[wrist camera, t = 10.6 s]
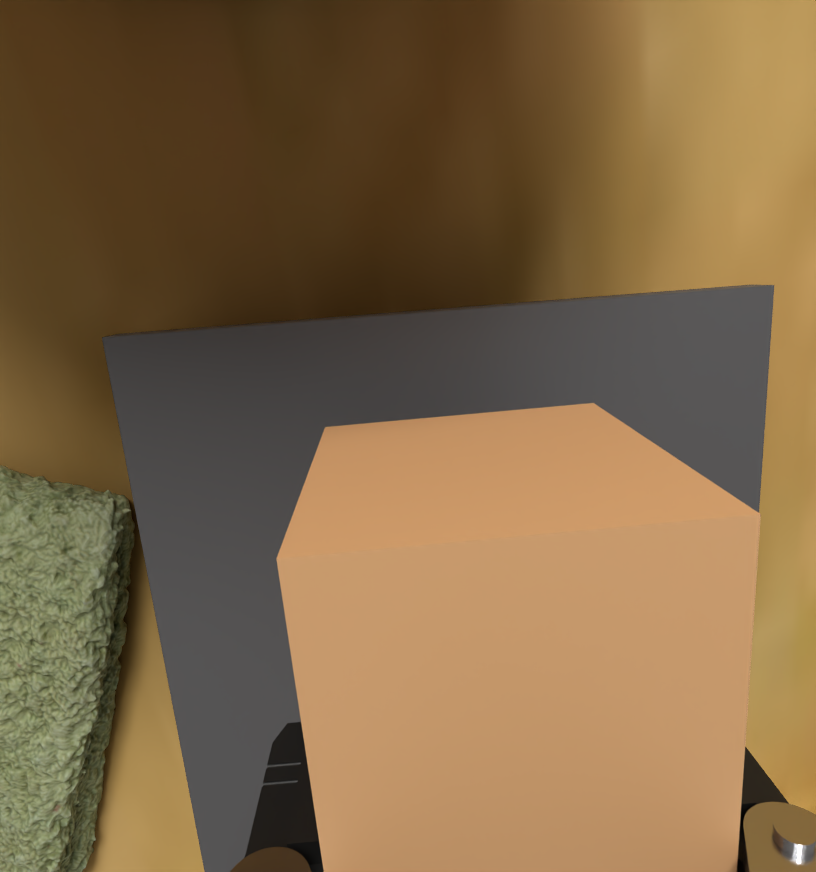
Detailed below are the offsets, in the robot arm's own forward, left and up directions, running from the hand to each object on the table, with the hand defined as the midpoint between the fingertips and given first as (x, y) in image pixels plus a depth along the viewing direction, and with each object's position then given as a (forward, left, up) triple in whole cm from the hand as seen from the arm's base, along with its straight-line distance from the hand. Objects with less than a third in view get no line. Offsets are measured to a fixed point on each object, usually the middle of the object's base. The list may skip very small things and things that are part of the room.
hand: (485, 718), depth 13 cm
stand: (0, 0, -9) cm, 9 cm away
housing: (0, +1, -2) cm, 2 cm away
